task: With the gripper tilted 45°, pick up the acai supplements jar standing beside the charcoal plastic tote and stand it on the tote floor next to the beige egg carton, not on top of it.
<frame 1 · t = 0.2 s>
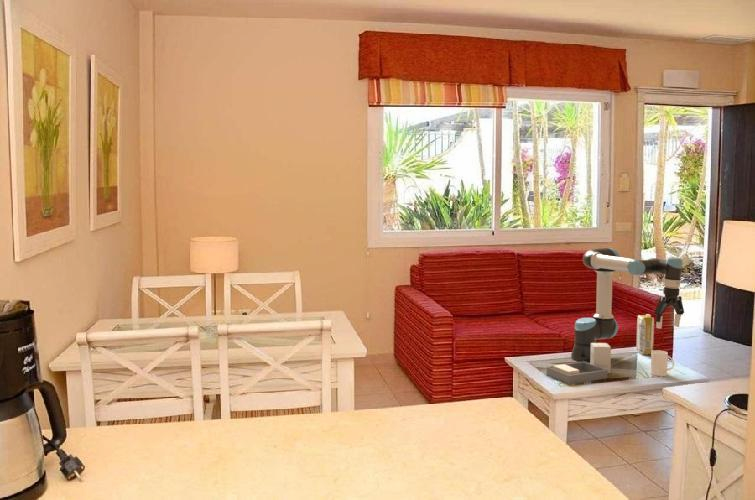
hand: (667, 327, 329), 27 cm above the table, tool pointing down, fingers open, 13 cm apart
supplement box: (600, 371, 345), on the table
mug: (661, 374, 339), on the table
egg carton: (565, 378, 331), point 1 cm above the table, touching tote
juice carton: (644, 353, 382), on the table
tote: (576, 377, 334), on the table
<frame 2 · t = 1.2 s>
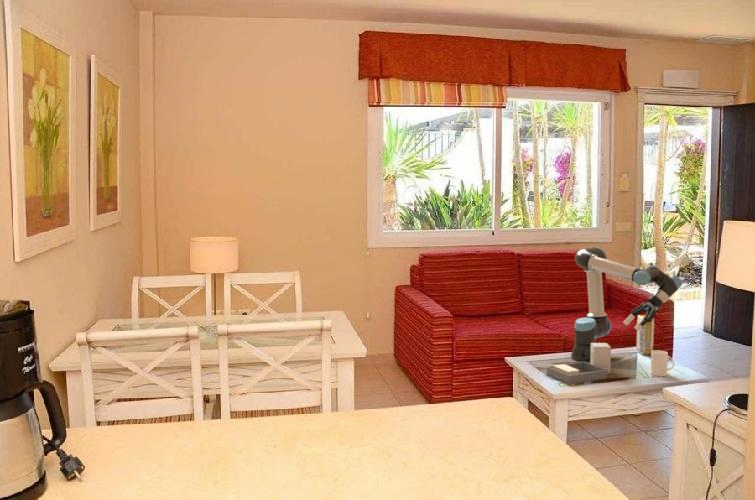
hand: (630, 326, 343), 25 cm above the table, tool tilted 45°, fingers open, 13 cm apart
nothing on the table moved.
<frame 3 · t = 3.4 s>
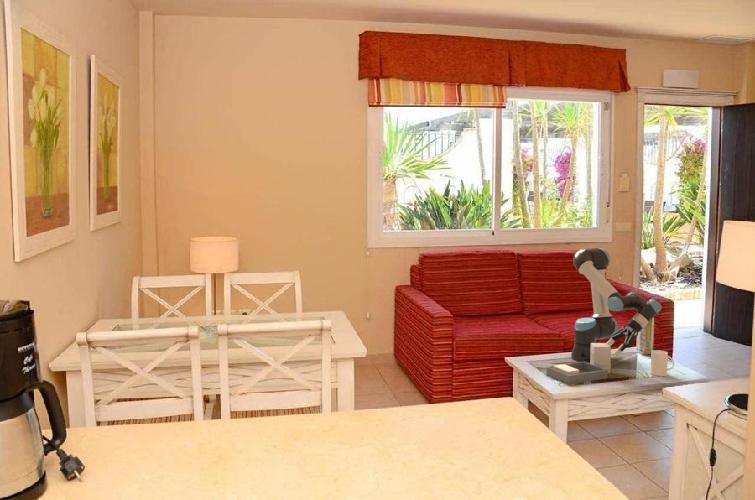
hand: (610, 351, 343), 11 cm above the table, tool tilted 45°, fingers open, 13 cm apart
nothing on the table moved.
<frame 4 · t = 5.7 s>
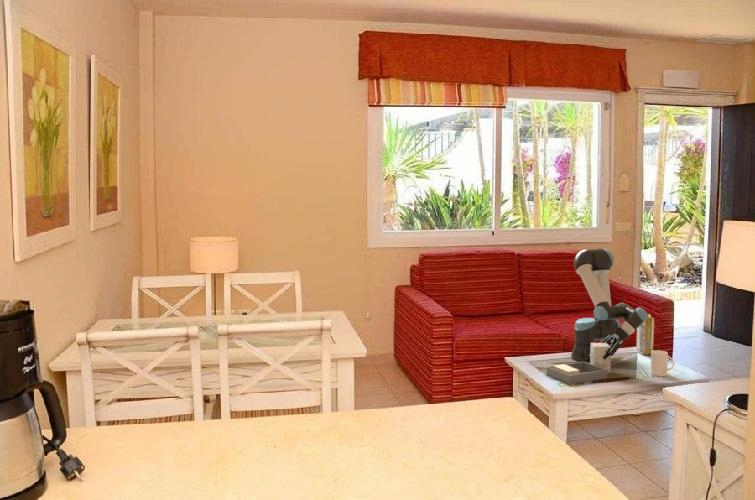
hand: (594, 359, 344), 6 cm above the table, tool tilted 45°, fingers closed on supplement box, 9 cm apart
supplement box: (599, 371, 345), on the table, touching gripper
everything else where it was.
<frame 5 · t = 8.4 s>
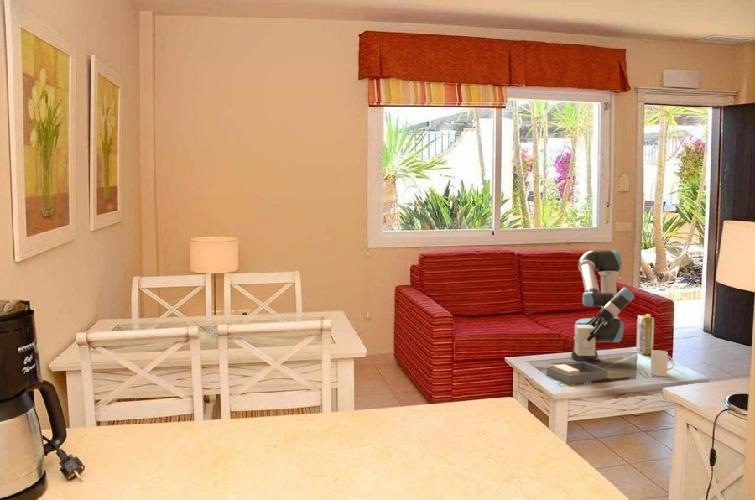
hand: (578, 342, 334), 19 cm above the table, tool tilted 45°, fingers closed on supplement box, 9 cm apart
supplement box: (584, 354, 334), point 12 cm above the table, touching gripper
everything else where it was.
when the fingers open (8 cm above the table, at t = 11.3 s): supplement box drops 1 cm, resting on tote.
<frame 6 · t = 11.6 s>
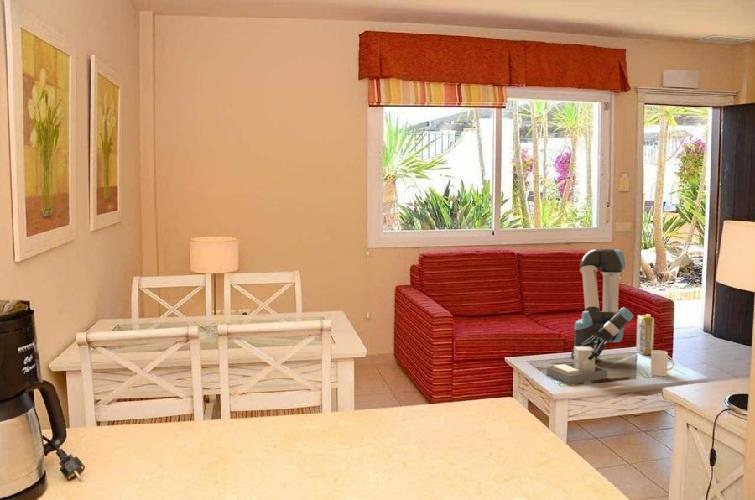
hand: (579, 360, 335), 9 cm above the table, tool tilted 45°, fingers open, 12 cm apart
supplement box: (583, 375, 335), resting on tote
everything else where it was.
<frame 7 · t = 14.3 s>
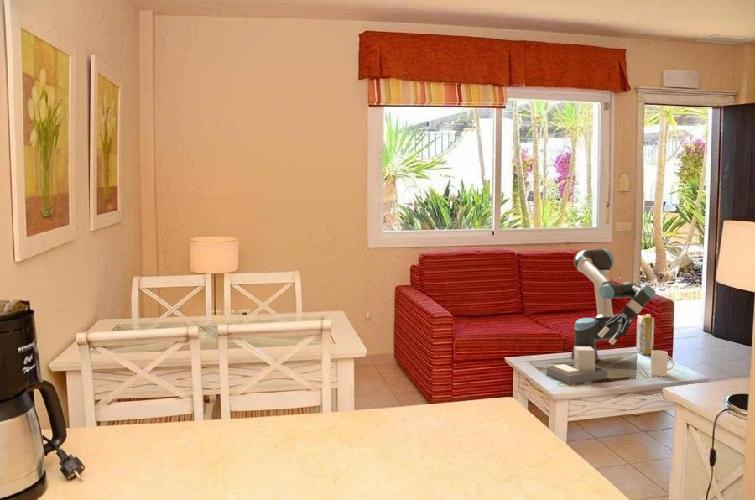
hand: (605, 340, 336), 19 cm above the table, tool tilted 40°, fingers open, 13 cm apart
nothing on the table moved.
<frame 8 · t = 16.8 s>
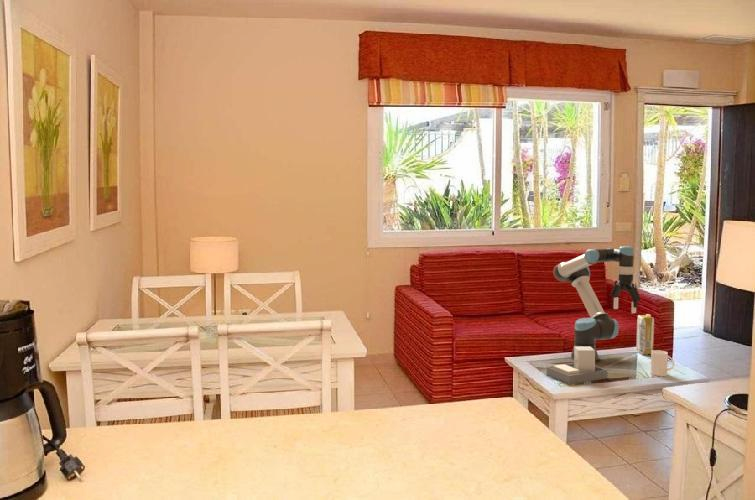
hand: (624, 310, 356), 31 cm above the table, tool pointing down, fingers open, 13 cm apart
nothing on the table moved.
at the end: supplement box inside the target area (0.4 cm from its centre), resting on tote; supplement box tilted 0°; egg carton moved 0.0 cm from its start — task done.
